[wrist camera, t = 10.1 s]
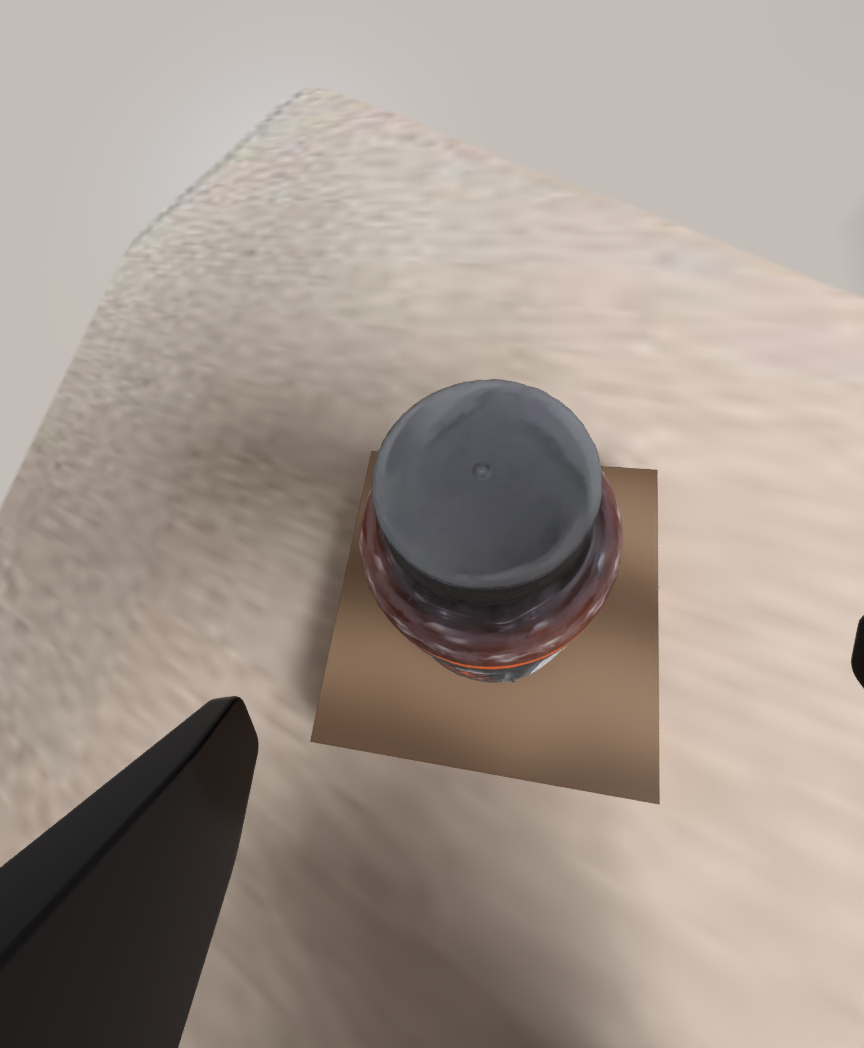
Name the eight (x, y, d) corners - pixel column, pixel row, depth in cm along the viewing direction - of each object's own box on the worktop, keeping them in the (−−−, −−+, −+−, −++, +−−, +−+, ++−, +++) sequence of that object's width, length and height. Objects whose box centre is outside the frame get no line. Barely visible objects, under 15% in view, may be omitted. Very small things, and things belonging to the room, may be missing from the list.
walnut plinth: (640, 792, 18) (659, 804, 16) (332, 738, 20) (310, 741, 18) (641, 495, 22) (657, 470, 20) (384, 476, 24) (371, 451, 22)
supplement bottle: (385, 631, 19) (242, 533, 9) (463, 505, 20) (422, 289, 10) (525, 719, 17) (560, 731, 7) (599, 575, 19) (724, 401, 8)
